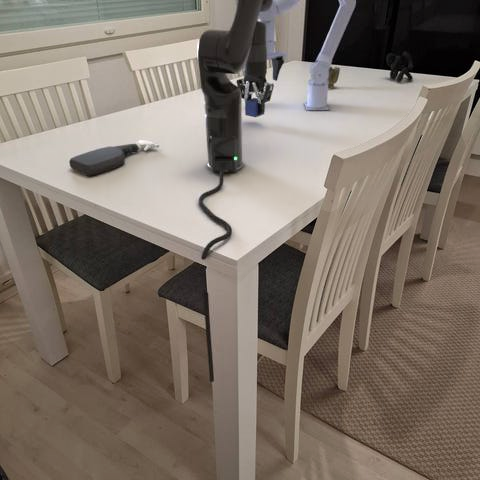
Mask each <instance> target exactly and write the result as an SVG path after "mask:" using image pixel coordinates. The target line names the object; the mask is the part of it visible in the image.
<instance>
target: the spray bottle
mask: <svg viewBox="0 0 480 480" xmlns="http://www.w3.org/2000/svg"><path fill="white" fill-rule="evenodd" d="M159 148H160V145H159V144H158V143H155V142H151V141H148V140H144V139H139V140H138V141H137V142H135V143H129V144H128V143H126V144H122V145H113V146H105V147H100V148H97V149H94V150H90V151H87V152H83V153H81V154H78V155H74V156H73V157H70V159H69V161H68V162H69V167H70V168H71V169H72V170H74V171H75V172H78V173H81V174H83V175H85V176H89V177H90V176H91V177H92V176H95V175H99V174H102V173H105V172H107V171H110V170H113V169H116V168H118V167H120V166H122V165H123V164H124V163H125V158H126V156H127V155H131V154H133V153H138V151H140V150H143V151H144V152H146V151H147V150H149V149H159Z"/></svg>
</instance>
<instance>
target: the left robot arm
mask: <svg viewBox="0 0 480 480" xmlns="http://www.w3.org/2000/svg"><path fill="white" fill-rule="evenodd" d="M272 3H273V0H235V5H236V8H235V14H234V18H233V21H232V23H231V26H230V29H229V30H224V29H206V30H205V31H204V32H202V34H201V35H200V37H199V39H198V42H197V49H196V51H197V66H198V74H199V84H200V89H201V92H202V94H203V99H204V100H203V101H204V116H205V117H204V118H205V133H206V134H205V135H206V151H207V152H206V153H207V168H208V169H209V170H211V172H212V173H219V183H218V184H217V186H216V187H214V188H212V189H209V190H208V191H207V190H206V191H205V192H203V193H202V194H201V195H200V196H199V197H198V204H199V206H200V208H201V209H202V210H203V211H204V212H205V213H206V214H207V215H208V216H209V217H210V218H211V220H214V221H215V222H217V223H219V224H220V225H222V226H224V227H225V228H226V233H224V234H223V235H222V234H221V235H219V236H218V237H215V238H213V239H212V240H210V241H209V242H208V243H207V244H206V245H205V247H204V249H203V251H202V254H201V260H203V261H205V260H206V259H207V257H208V254H209V251H210V250H211V249H212V247H214V246H215V245H216V244H218V243H220V242H222V241H225V240H227V239H228V238H230V237H231V236H232V234H233V233H232V232H233V229H232V226H231V225H230V223H228V222H227V221H226V220H224V219H222V218H221V217H219V216H218V215H215V213H213V212H212V211H211V210H210V209H209V208H208V207H207V205H205V203H204V199H205V198H206V197H208V196H210V195H213V194H215V193H217V192H218V191H220V190H221V189H222V187H223V185H224V175H225V173H237V171H239V170H240V169H242V168H243V166H244V162H243V161H244V160H243V114H242V113H243V109H242V108H243V106H242V105H243V104H242V103H243V102H242V101H244V102H245V101H246V100H249V99H252V98H253V94H255V98H257V99H258V103H259V104H258V115H261V116H263V115H264V114H265V111H266V103H269V102H271V100H272V94H273V91H274V87H275V84H274V83H270V82H268V81H267V78H266V76H267V73H268V70H267V69H268V67H267V66H268V60H267V47H266V24H265V23H264V22H262V21H259V16H258V15H259V12H266V11H268V10H269V9H270V8H271V6H272ZM241 72H242V74H243V78H239V79H236V84H234V83H233V82H232V81H231V80H230V79H229V78H228V76H227V75H238V74H240V73H241ZM242 99H243V100H242ZM263 113H264V114H263ZM209 297H210V296H209V292H208V291H205V290H203V308H204V322H205V323H204V325H205V339H206V349H207V358H208V361H207V362H208V373H209V382H210V383H213V382H214V381H215V375H214V374H215V373H214V359H213V348H212V333H211V332H212V331H211V319H210V318H211V317H210V301H209V300H210V298H209Z"/></svg>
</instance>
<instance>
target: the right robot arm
mask: <svg viewBox="0 0 480 480" xmlns="http://www.w3.org/2000/svg"><path fill="white" fill-rule="evenodd" d="M299 1H300V0H273V3H272V6H271V8H270V9H269V10H268V11H266V12H259V15H258V21H262V22H264V23H265V24H266V47H267V61H271V64H272V80H273V81H277V82H278V78H279V74H280V71H281V69H282V67H283V65H284V63H285V60H284V59H286V52H284V51H278V52H275V43H276V41H275V37H276V35H275V33H276V26H275V17H276V16H281V15H283V14H285V13H287V12H288V11H291V10H293V9H295V8H296V7H297V5H298V2H299ZM337 1H338V2H339V7H338V9H337V12H336V14H335V17H334V19H333V21H332V23H331V26H330V28H329V31H328V33H327V35H326V38H325V40H324V42H323V45H322V47H321V49H320V52H319V53H318V55H317V57H316V60H315V61H314V62H313V63H312V64H311V65H310V67H309V74H310V79H309V80H308V82H307V99H306V101H305V102H304V106H305V109H306V111H329V110H330V108H329V106H328V104H327V103H328V94H329V88H328V83H329V81H328V80H327V79H328V77H329V68H330V67H332V66H331V65H332V63H333V58H334V56H335V53H336V51H337V49H338V47H339V45H340V42H341V40H342V38H343V36H344V33H345V31H346V29H347V26H348V24H349V22H350V19H351V17H352V15H353V12H354V11H355V8H356V4H357V0H337Z"/></svg>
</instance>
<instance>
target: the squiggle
mask: <svg viewBox="0 0 480 480" xmlns="http://www.w3.org/2000/svg"><path fill="white" fill-rule="evenodd" d="M401 57H402V59H401ZM391 59H392V60H391ZM393 60H394V61H393ZM385 61H386V64H387V67H390V68H391V70H390V72H389V78H390V79H391V80H395V79H396V81H397V82H399V83H400V82H402V81H403V79H404V76H406V78H407V80H408V81H412V80H413V79H414V77H413V75H412V74H411V73H410V72H409V71H410V70H412V69H413V68H414V64H413V61H412V57H411V54H410V53H409V52H408V51H403V53H402V54H401V55H396V54H394V53H392V52H390V53H387V55H386V57H385ZM406 62H407V65H408V66H407V67H405V66H404V65H405V64H406ZM400 70H401V71H400Z"/></svg>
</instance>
